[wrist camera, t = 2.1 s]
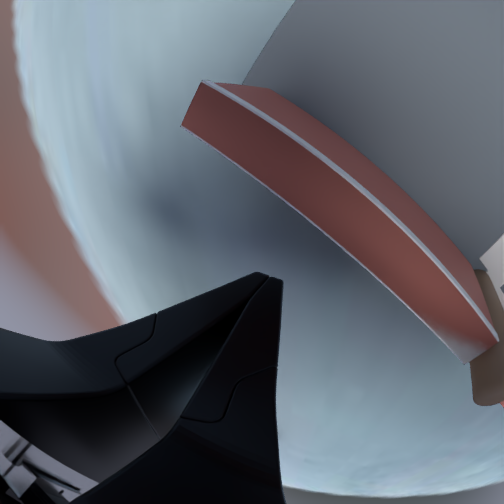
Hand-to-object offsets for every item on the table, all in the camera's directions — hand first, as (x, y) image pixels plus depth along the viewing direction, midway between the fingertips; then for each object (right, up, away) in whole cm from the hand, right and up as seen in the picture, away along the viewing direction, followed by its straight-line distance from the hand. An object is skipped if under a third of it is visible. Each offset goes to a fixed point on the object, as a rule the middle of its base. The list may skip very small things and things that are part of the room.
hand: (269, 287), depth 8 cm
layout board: (+10, +4, -2) cm, 11 cm away
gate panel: (+4, +3, +1) cm, 5 cm away
